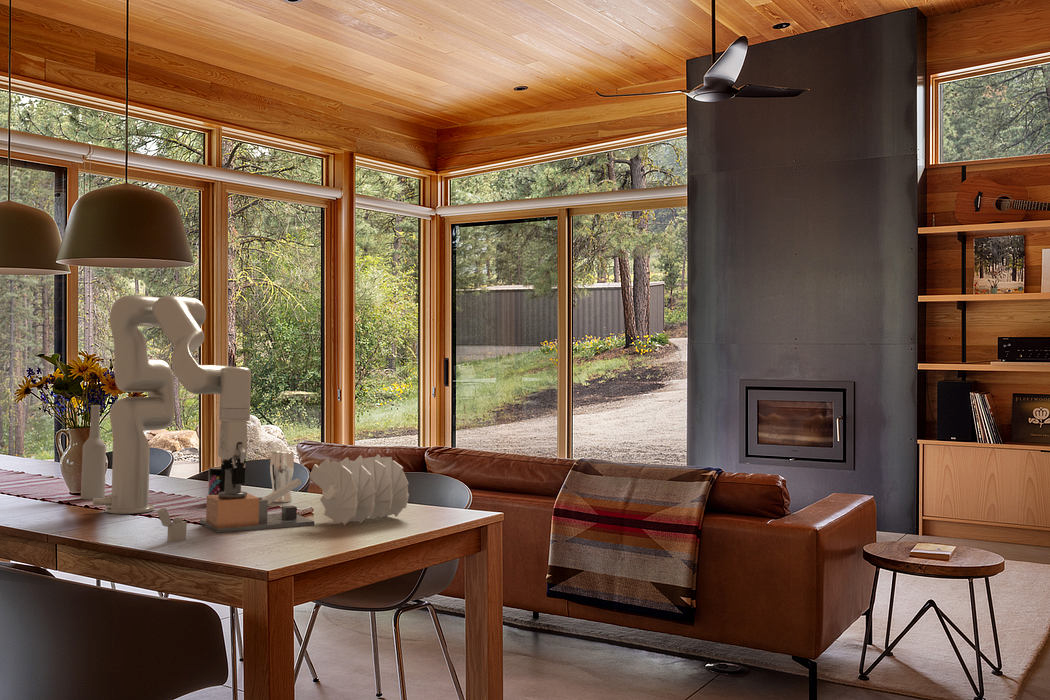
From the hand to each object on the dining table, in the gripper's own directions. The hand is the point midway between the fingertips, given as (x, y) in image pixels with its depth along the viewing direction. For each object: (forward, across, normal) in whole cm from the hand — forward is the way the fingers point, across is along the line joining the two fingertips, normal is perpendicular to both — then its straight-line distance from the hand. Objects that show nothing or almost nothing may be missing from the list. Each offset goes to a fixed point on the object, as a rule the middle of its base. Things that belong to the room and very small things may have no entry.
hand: (232, 481), depth 238 cm
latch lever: (+4, 0, +13) cm, 13 cm away
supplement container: (+12, -41, +8) cm, 43 cm away
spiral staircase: (+12, +7, +33) cm, 36 cm away
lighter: (+12, +14, -18) cm, 26 cm away
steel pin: (+10, 0, 0) cm, 10 cm away
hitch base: (+11, 0, +6) cm, 13 cm away
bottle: (+12, -66, -23) cm, 71 cm away
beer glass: (+12, -36, +25) cm, 45 cm away
